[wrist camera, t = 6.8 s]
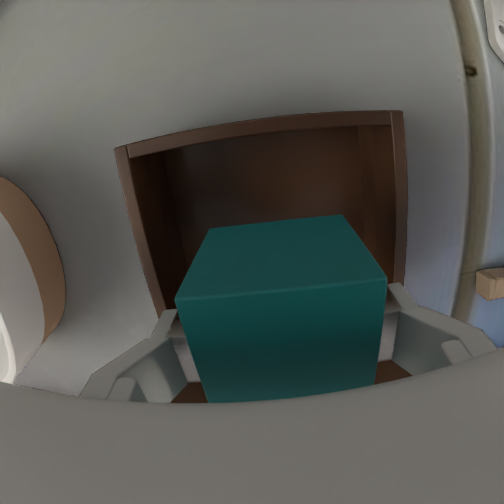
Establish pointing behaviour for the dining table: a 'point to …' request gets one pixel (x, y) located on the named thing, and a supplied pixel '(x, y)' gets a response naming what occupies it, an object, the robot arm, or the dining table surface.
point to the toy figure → (490, 283)
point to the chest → (265, 186)
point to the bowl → (26, 281)
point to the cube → (283, 310)
